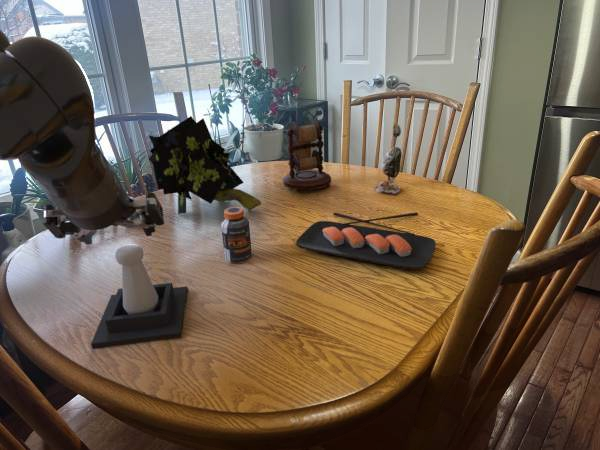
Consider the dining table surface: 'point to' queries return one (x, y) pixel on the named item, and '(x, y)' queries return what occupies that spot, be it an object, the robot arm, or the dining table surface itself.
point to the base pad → (142, 319)
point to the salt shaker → (135, 281)
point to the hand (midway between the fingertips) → (119, 234)
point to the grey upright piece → (391, 166)
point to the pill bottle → (236, 236)
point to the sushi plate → (369, 242)
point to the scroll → (305, 158)
